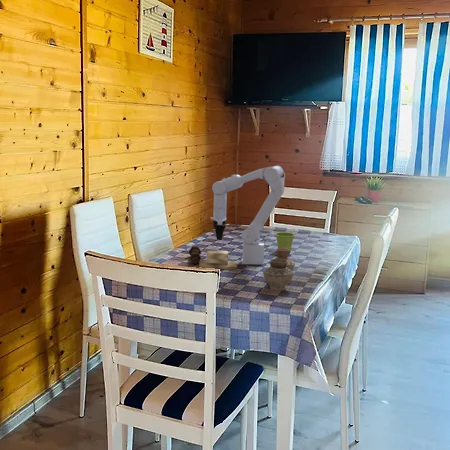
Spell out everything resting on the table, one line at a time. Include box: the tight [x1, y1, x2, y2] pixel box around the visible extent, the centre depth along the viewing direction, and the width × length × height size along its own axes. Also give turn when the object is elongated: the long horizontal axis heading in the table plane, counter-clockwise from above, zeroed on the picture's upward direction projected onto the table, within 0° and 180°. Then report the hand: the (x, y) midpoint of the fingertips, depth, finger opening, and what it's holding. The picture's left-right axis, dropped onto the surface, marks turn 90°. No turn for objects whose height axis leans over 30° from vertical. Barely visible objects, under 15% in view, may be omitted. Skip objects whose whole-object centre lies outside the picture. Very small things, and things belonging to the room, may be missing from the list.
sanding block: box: [206, 249, 229, 265], centre depth 233 cm, size 9×5×5 cm, turn 92°
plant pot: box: [274, 231, 296, 253], centre depth 263 cm, size 9×9×9 cm
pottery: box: [262, 247, 296, 292], centre depth 209 cm, size 11×25×12 cm, turn 169°
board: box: [198, 259, 238, 270], centre depth 233 cm, size 16×10×1 cm, turn 92°
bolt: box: [188, 245, 202, 265], centre depth 241 cm, size 6×5×15 cm
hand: (219, 238), depth 244 cm, fingers open, 7 cm apart
